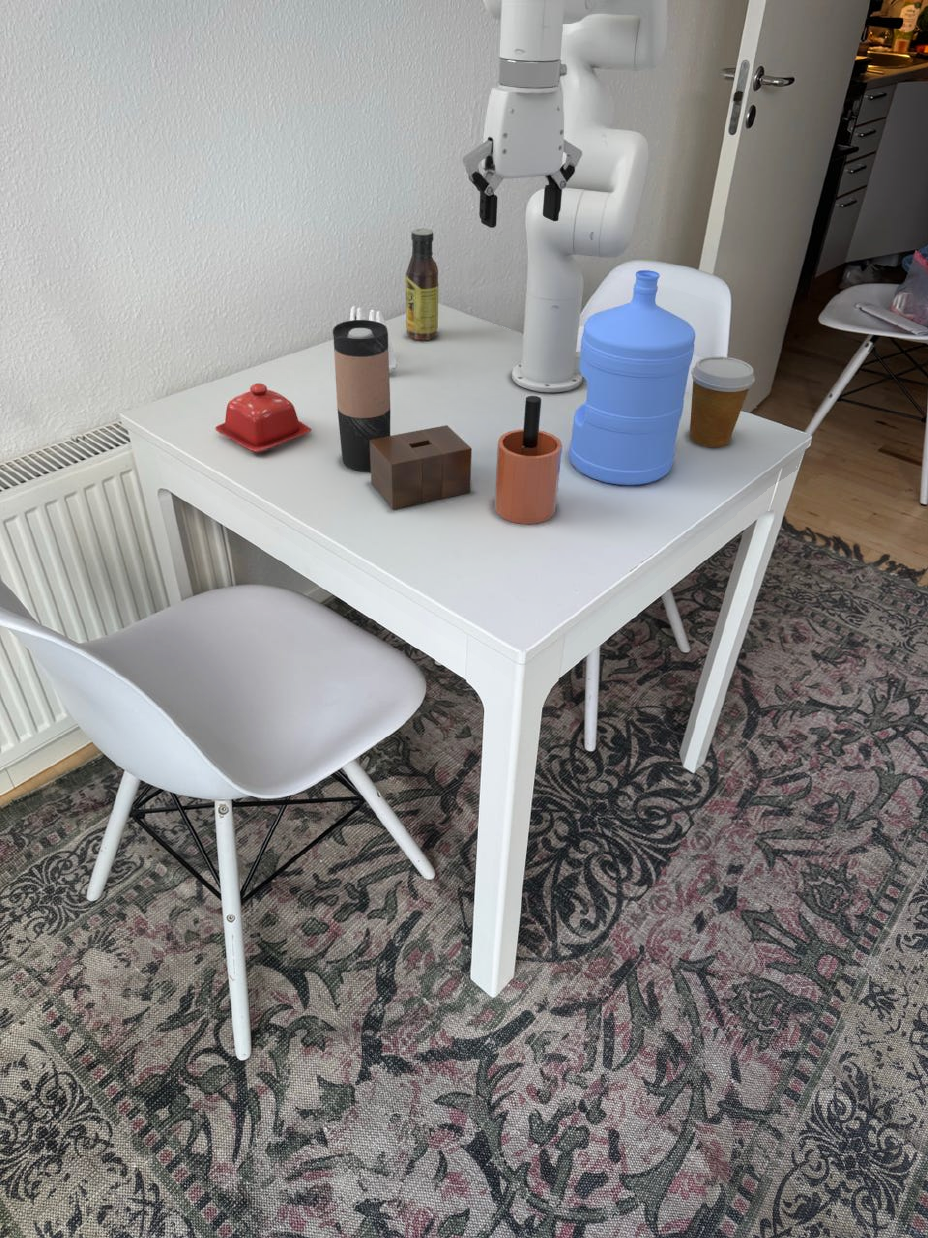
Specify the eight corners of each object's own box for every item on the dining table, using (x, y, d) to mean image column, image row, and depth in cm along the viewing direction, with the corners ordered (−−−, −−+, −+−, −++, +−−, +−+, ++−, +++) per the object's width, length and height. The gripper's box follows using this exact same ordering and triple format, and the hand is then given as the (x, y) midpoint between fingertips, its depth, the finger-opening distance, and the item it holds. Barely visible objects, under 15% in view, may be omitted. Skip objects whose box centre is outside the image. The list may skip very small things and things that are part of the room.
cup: (535, 488, 128) (541, 424, 122) (566, 516, 122) (573, 450, 116) (484, 500, 125) (487, 435, 119) (513, 529, 119) (517, 462, 113)
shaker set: (399, 376, 159) (398, 314, 152) (379, 381, 157) (377, 319, 150) (364, 355, 167) (362, 295, 160) (345, 359, 165) (341, 299, 158)
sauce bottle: (405, 330, 177) (404, 225, 165) (436, 330, 178) (437, 225, 166) (406, 342, 172) (405, 234, 160) (438, 342, 173) (439, 234, 161)
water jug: (691, 464, 135) (730, 275, 118) (630, 499, 126) (662, 300, 109) (610, 430, 144) (634, 249, 127) (547, 461, 135) (565, 271, 118)
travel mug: (399, 453, 136) (397, 323, 123) (379, 476, 130) (374, 342, 118) (353, 445, 137) (346, 316, 125) (332, 467, 132) (322, 334, 119)
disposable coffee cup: (744, 433, 144) (761, 361, 137) (732, 457, 138) (750, 383, 130) (687, 421, 147) (700, 350, 140) (672, 444, 141) (686, 371, 133)
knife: (528, 498, 124) (537, 394, 115) (535, 505, 123) (544, 400, 113) (514, 502, 123) (522, 397, 114) (521, 508, 122) (529, 403, 113)
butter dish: (316, 436, 139) (312, 385, 134) (256, 460, 133) (249, 407, 127) (271, 413, 146) (265, 363, 140) (211, 435, 139) (203, 384, 134)
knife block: (446, 468, 132) (446, 424, 128) (470, 492, 127) (471, 448, 123) (371, 484, 128) (369, 439, 124) (392, 510, 122) (391, 464, 118)
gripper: (571, 70, 116) (559, 210, 127) (453, 73, 110) (450, 220, 120) (603, 77, 111) (588, 222, 121) (480, 81, 105) (475, 235, 115)
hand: (519, 221), depth 121 cm, fingers open, 9 cm apart
